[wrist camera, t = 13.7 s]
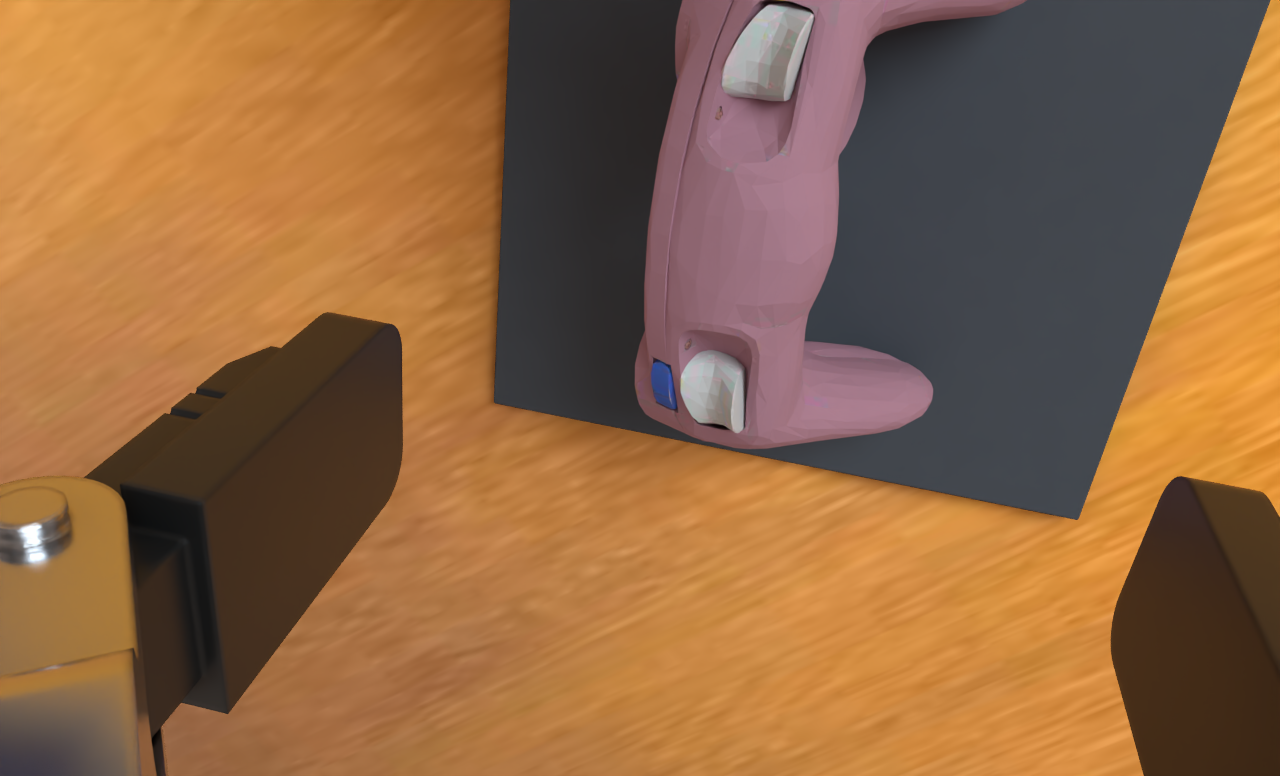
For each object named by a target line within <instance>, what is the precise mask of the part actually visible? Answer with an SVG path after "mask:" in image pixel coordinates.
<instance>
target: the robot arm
mask: <svg viewBox="0 0 1280 776" xmlns="http://www.w3.org/2000/svg"><path fill="white" fill-rule="evenodd" d="M402 452H403V420H402V344H401V337H400V334H399V331H398V329H397V328H396V327H395V326H394V325H392V324H388V323H383V322H377V321H372V320H367V319H362V318H356V317H351V316H346V315H341V314H335V313H329V312H327V313H323V314H322V315H320V316H319V317H318V318H316V319H315V320H314V321H313V322H312V323H310V324H309V325H308V326H307V327H306V328H304V329H303V330H302V331H301V332H300V333H299V334H297V335H296V336H295V337H294V338H293V339H291V340H290V341H289V342H288V343H287V344H285V345H284V346H283V347H282V348H277V347H272V346H271V347H268V348H266V349H263V350H261V351H258V352H256V353H253V354H251V355H248V356H246V357H243V358H240V359H238V360H235V361H233V362H230V363H228V364H226V365H225V366H224V367H222V368H221V369H220V370H219V371H217V372H216V373H215V374H214V375H212V376H211V377H210V378H209V379H207V380H206V381H205V382H204V383H202V384H201V385H200V386H199V387H197V391H196V393H195V394H194V393H190V394H188V395H187V396H186V397H185V398H183V399H182V400H181V401H180V402H178V403H177V404H176V405H175V406H173V407H172V408H171V413H170V414H166V413H165V414H163V415H162V416H161V417H160V418H158V419H157V420H156V421H154V422H153V423H152V424H151V425H149V426H148V427H147V428H146V429H144V430H143V431H142V432H141V433H139V434H138V435H137V436H136V437H134V438H133V439H132V440H131V441H129V442H128V443H127V444H126V445H124V446H123V447H122V448H121V449H119V450H118V451H117V452H115V453H114V454H113V455H112V456H110V457H109V458H108V459H107V460H105V461H104V462H103V463H102V464H100V465H99V466H98V467H97V468H95V469H94V470H93V471H92V472H90V473H89V474H88V475H87V476H85V477H84V478H81V477H74V476H43V477H33V478H27V479H22V480H16V481H12V482H9V483H5V484H1V485H0V776H168V767H167V758H166V748H165V741H164V735H163V729H162V725H163V724H164V723H165V721H166V720H167V719H168V718H169V716H170V715H171V714H172V713H173V712H174V710H175V709H176V708H177V707H178V705H179V704H180V703H186V704H190V705H194V706H198V707H202V708H206V709H210V710H214V711H218V712H222V713H226V714H228V713H229V712H230V711H231V709H232V708H233V707H234V705H235V704H236V703H237V701H238V700H239V699H240V697H241V696H242V695H243V693H244V692H245V691H246V689H247V688H248V687H249V685H250V684H251V683H252V681H253V680H254V679H255V677H256V676H257V675H258V673H259V672H260V671H261V669H262V668H263V667H264V665H265V664H266V663H267V662H268V660H269V659H270V658H271V656H272V655H273V654H274V652H275V651H276V650H277V648H278V647H279V646H280V644H281V643H282V642H283V640H284V639H285V638H286V636H287V635H288V634H289V632H290V631H291V630H292V628H293V627H294V626H295V624H296V623H297V622H298V620H299V619H300V618H301V616H302V615H303V614H304V612H305V611H306V610H307V608H308V607H309V606H310V604H311V603H312V602H313V600H314V599H315V598H316V596H317V595H318V594H319V592H320V591H321V590H322V588H323V587H324V586H325V585H326V583H327V582H328V581H329V579H330V578H331V577H332V575H333V574H334V573H335V571H336V570H337V569H338V567H339V566H340V565H341V563H342V562H343V561H344V559H345V558H346V557H347V555H348V554H349V553H350V551H351V550H352V549H353V547H354V546H355V545H356V543H357V542H358V541H359V539H360V538H361V537H362V535H363V534H364V533H365V531H366V530H367V529H368V527H369V526H370V525H371V523H372V522H373V521H374V519H375V518H376V517H377V515H378V514H379V513H380V512H381V510H382V509H383V508H384V506H385V505H386V503H387V502H388V500H389V498H390V496H391V494H392V492H393V490H394V487H395V485H396V482H397V478H398V475H399V471H400V467H401V461H402ZM1111 654H1112V661H1113V665H1114V669H1115V672H1116V676H1117V680H1118V683H1119V687H1120V690H1121V694H1122V698H1123V701H1124V705H1125V709H1126V712H1127V716H1128V720H1129V723H1130V727H1131V730H1132V734H1133V738H1134V741H1135V745H1136V749H1137V752H1138V756H1139V760H1140V763H1141V767H1142V770H1143V774H1144V776H1280V517H1279V516H1278V514H1277V512H1276V510H1275V509H1274V507H1273V505H1272V503H1271V502H1270V500H1269V499H1268V497H1267V496H1266V495H1265V494H1264V493H1262V492H1260V491H1256V490H1250V489H1245V488H1240V487H1235V486H1229V485H1224V484H1219V483H1214V482H1208V481H1203V480H1198V479H1193V478H1187V477H1182V476H1180V477H1176V478H1174V479H1173V480H1172V481H1171V482H1170V483H1169V484H1168V485H1167V487H1166V488H1165V490H1164V492H1163V493H1162V495H1161V498H1160V500H1159V502H1158V504H1157V507H1156V509H1155V512H1154V514H1153V516H1152V519H1151V521H1150V524H1149V526H1148V528H1147V531H1146V533H1145V536H1144V538H1143V540H1142V543H1141V545H1140V548H1139V550H1138V552H1137V555H1136V557H1135V560H1134V562H1133V564H1132V567H1131V569H1130V571H1129V574H1128V576H1127V579H1126V581H1125V583H1124V586H1123V588H1122V591H1121V593H1120V595H1119V598H1118V601H1117V604H1116V608H1115V611H1114V616H1113V622H1112V630H1111Z"/></svg>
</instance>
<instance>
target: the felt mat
mask: <svg viewBox="0 0 1280 776" xmlns="http://www.w3.org/2000/svg"><path fill="white" fill-rule="evenodd" d="M1269 2H1270V0H1026V1H1025V2H1024V3H1022V4H1020V5H1018V6H1015V7H1013V8H1011V9H1008V10H1006V11H1004V12H1001V13H999V14H996V15H991V16H980V17H970V18H959V19H948V20H937V21H927V22H920V23H916V24H912V25H908V26H904V27H900V28H896V29H893V30H889V31H886V32H884V33H882V34H880V35H878V36H876V37H875V38H874V39H873V40H872V41H871V42H870V43H869V45H868V46H867V48H866V51H865V54H864V58H863V61H864V67H865V76H866V83H865V90H864V98H863V103H862V106H861V109H860V113H859V116H858V119H857V123H856V126H855V128H854V130H853V132H852V134H851V136H850V138H849V140H848V142H847V144H846V146H845V148H844V149H843V151H842V152H841V153H840V155H839V159H838V176H839V206H838V226H837V238H836V243H835V249H834V254H833V258H832V261H831V263H830V266H829V269H828V272H827V274H826V277H825V280H824V282H823V284H822V287H821V289H820V291H819V293H818V295H817V297H816V299H815V301H814V303H813V305H812V307H811V309H810V311H809V314H808V319H807V324H806V329H805V340H804V341H814V342H824V343H833V344H843V345H852V346H860V347H864V348H868V349H871V350H875V351H878V352H882V353H886V354H889V355H891V356H893V357H895V358H897V359H899V360H900V361H902V362H906V363H909V364H910V365H912V366H913V367H915V368H917V369H918V370H920V371H921V372H922V373H923V374H924V375H925V377H926V378H927V379H928V380H929V381H930V382H931V384H932V387H933V396H932V401H931V404H930V405H929V407H928V409H927V410H926V411H925V413H924V414H923V415H922V416H921V417H919V418H917V419H915V420H913V421H911V422H910V423H908V424H906V425H904V426H902V427H900V428H898V429H894V430H890V431H885V432H881V433H876V434H869V435H861V436H853V437H846V438H838V439H830V440H822V441H815V442H808V443H801V444H794V445H788V446H781V447H774V448H767V449H741V448H733V447H729V446H725V445H721V444H717V443H713V442H706V441H702V440H699V439H697V438H694V437H692V436H689V435H687V434H685V433H683V432H681V431H679V430H676V429H674V428H672V427H670V426H668V425H665V424H663V423H661V422H659V421H656V420H654V419H652V418H651V417H649V416H648V415H646V414H645V413H644V411H643V409H642V408H641V406H640V405H639V402H638V399H637V394H636V389H635V362H636V358H637V354H638V350H639V345H640V342H641V339H642V337H643V334H644V332H645V323H644V283H645V267H646V251H647V235H648V224H649V218H650V211H651V205H652V198H653V191H654V185H655V178H656V172H657V165H658V158H659V153H660V149H661V145H662V141H663V137H664V132H665V128H666V124H667V120H668V116H669V112H670V108H671V103H672V99H673V95H674V91H675V87H676V84H677V77H676V67H675V39H676V25H677V21H678V16H679V12H680V8H681V4H682V0H510V19H509V44H508V68H507V93H506V117H505V142H504V166H503V191H502V215H501V239H500V264H499V288H498V313H497V337H496V362H495V386H494V403H496V404H501V405H506V406H511V407H516V408H521V409H526V410H531V411H536V412H541V413H546V414H551V415H556V416H561V417H566V418H571V419H576V420H581V421H586V422H591V423H596V424H601V425H606V426H611V427H616V428H621V429H626V430H631V431H636V432H641V433H646V434H651V435H656V436H661V437H666V438H671V439H676V440H681V441H686V442H691V443H696V444H701V445H706V446H711V447H716V448H721V449H726V450H731V451H736V452H741V453H746V454H751V455H756V456H761V457H766V458H771V459H776V460H781V461H786V462H791V463H796V464H801V465H806V466H811V467H816V468H821V469H826V470H831V471H836V472H841V473H846V474H851V475H856V476H861V477H866V478H871V479H876V480H881V481H886V482H891V483H896V484H901V485H906V486H911V487H916V488H921V489H926V490H931V491H936V492H941V493H946V494H951V495H956V496H961V497H966V498H971V499H976V500H981V501H985V502H990V503H995V504H1000V505H1005V506H1010V507H1015V508H1020V509H1025V510H1030V511H1035V512H1040V513H1045V514H1050V515H1055V516H1060V517H1065V518H1070V519H1075V520H1078V519H1079V516H1080V513H1081V511H1082V508H1083V505H1084V503H1085V500H1086V497H1087V494H1088V492H1089V489H1090V486H1091V484H1092V481H1093V478H1094V476H1095V473H1096V470H1097V467H1098V465H1099V462H1100V459H1101V457H1102V454H1103V451H1104V448H1105V446H1106V443H1107V440H1108V438H1109V435H1110V432H1111V430H1112V427H1113V424H1114V421H1115V419H1116V416H1117V413H1118V411H1119V408H1120V405H1121V403H1122V400H1123V397H1124V394H1125V392H1126V389H1127V386H1128V384H1129V381H1130V378H1131V376H1132V373H1133V370H1134V367H1135V365H1136V362H1137V359H1138V357H1139V354H1140V351H1141V348H1142V346H1143V343H1144V340H1145V338H1146V335H1147V332H1148V330H1149V327H1150V324H1151V321H1152V319H1153V316H1154V313H1155V311H1156V308H1157V305H1158V303H1159V300H1160V297H1161V294H1162V292H1163V289H1164V286H1165V284H1166V281H1167V278H1168V275H1169V273H1170V270H1171V267H1172V265H1173V262H1174V259H1175V257H1176V254H1177V251H1178V248H1179V246H1180V243H1181V240H1182V238H1183V235H1184V232H1185V230H1186V227H1187V224H1188V221H1189V219H1190V216H1191V213H1192V211H1193V208H1194V205H1195V202H1196V200H1197V197H1198V194H1199V192H1200V189H1201V186H1202V184H1203V181H1204V178H1205V175H1206V173H1207V170H1208V167H1209V165H1210V162H1211V159H1212V157H1213V154H1214V151H1215V148H1216V146H1217V143H1218V140H1219V138H1220V135H1221V132H1222V130H1223V127H1224V124H1225V121H1226V119H1227V116H1228V113H1229V111H1230V108H1231V105H1232V102H1233V100H1234V97H1235V94H1236V92H1237V89H1238V86H1239V84H1240V81H1241V78H1242V75H1243V73H1244V70H1245V67H1246V65H1247V62H1248V59H1249V57H1250V54H1251V51H1252V48H1253V46H1254V43H1255V40H1256V38H1257V35H1258V32H1259V29H1260V27H1261V24H1262V21H1263V19H1264V16H1265V13H1266V11H1267V8H1268V5H1269Z"/></svg>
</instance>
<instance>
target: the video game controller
mask: <svg viewBox="0 0 1280 776" xmlns="http://www.w3.org/2000/svg"><path fill="white" fill-rule="evenodd" d="M1025 1H1026V0H682V4H681V8H680V12H679V16H678V21H677V25H676V39H675V67H676V77H677V84H676V87H675V91H674V95H673V99H672V103H671V108H670V112H669V116H668V120H667V124H666V128H665V132H664V137H663V141H662V145H661V149H660V153H659V158H658V165H657V172H656V178H655V185H654V191H653V198H652V205H651V211H650V218H649V224H648V235H647V251H646V267H645V283H644V323H645V332H644V334H643V337H642V339H641V342H640V345H639V350H638V354H637V358H636V362H635V389H636V394H637V399H638V402H639V405H640V406H641V408H642V409H643V411H644V413H645V414H646V415H648V416H649V417H651V418H652V419H654V420H656V421H659V422H661V423H663V424H665V425H668V426H670V427H672V428H674V429H676V430H679V431H681V432H683V433H685V434H687V435H689V436H692V437H694V438H697V439H699V440H702V441H706V442H713V443H717V444H721V445H725V446H729V447H733V448H741V449H767V448H774V447H781V446H788V445H794V444H801V443H808V442H815V441H822V440H830V439H838V438H846V437H853V436H861V435H869V434H876V433H881V432H885V431H890V430H894V429H898V428H900V427H902V426H904V425H906V424H908V423H910V422H911V421H913V420H915V419H917V418H919V417H921V416H922V415H923V414H924V413H925V411H926V410H927V409H928V407H929V405H930V404H931V401H932V396H933V387H932V384H931V382H930V381H929V380H928V379H927V378H926V377H925V375H924V374H923V373H922V372H921V371H920V370H918V369H917V368H915V367H913V366H912V365H910V364H909V363H906V362H902V361H900V360H899V359H897V358H895V357H893V356H891V355H889V354H886V353H882V352H878V351H875V350H871V349H868V348H864V347H860V346H852V345H843V344H833V343H824V342H814V341H804V340H805V329H806V324H807V319H808V314H809V311H810V309H811V307H812V305H813V303H814V301H815V299H816V297H817V295H818V293H819V291H820V289H821V287H822V284H823V282H824V280H825V277H826V274H827V272H828V269H829V266H830V263H831V261H832V258H833V254H834V249H835V243H836V238H837V226H838V206H839V176H838V159H839V155H840V153H841V152H842V151H843V149H844V148H845V146H846V144H847V142H848V140H849V138H850V136H851V134H852V132H853V130H854V128H855V126H856V123H857V119H858V116H859V113H860V109H861V106H862V103H863V98H864V90H865V83H866V76H865V67H864V61H863V58H864V54H865V51H866V48H867V46H868V45H869V43H870V42H871V41H872V40H873V39H874V38H875V37H876V36H878V35H880V34H882V33H884V32H886V31H889V30H893V29H896V28H900V27H904V26H908V25H912V24H916V23H920V22H927V21H937V20H948V19H959V18H970V17H980V16H991V15H996V14H999V13H1001V12H1004V11H1006V10H1008V9H1011V8H1013V7H1015V6H1018V5H1020V4H1022V3H1024V2H1025Z"/></svg>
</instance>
